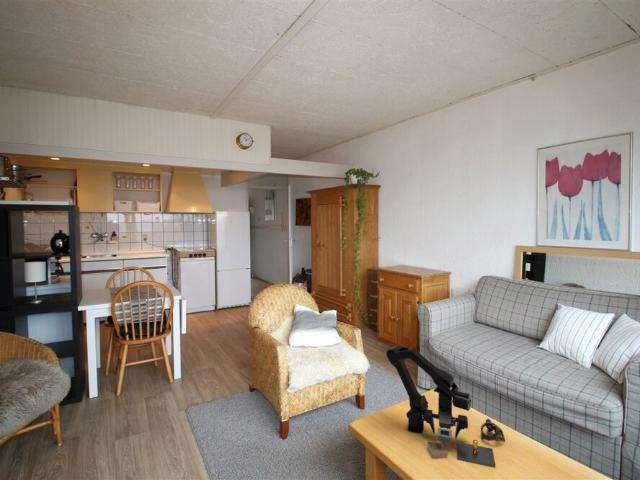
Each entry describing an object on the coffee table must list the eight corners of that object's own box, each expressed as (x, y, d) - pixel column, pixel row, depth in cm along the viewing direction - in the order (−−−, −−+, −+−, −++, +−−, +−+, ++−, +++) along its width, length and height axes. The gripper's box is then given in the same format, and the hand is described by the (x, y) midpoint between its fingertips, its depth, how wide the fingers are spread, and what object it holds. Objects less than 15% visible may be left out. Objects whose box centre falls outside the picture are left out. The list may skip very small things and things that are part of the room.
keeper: (457, 459, 145) (457, 445, 144) (456, 444, 154) (457, 430, 153) (495, 467, 140) (495, 452, 139) (492, 451, 149) (492, 437, 149)
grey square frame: (437, 441, 156) (437, 435, 155) (437, 433, 161) (437, 427, 161) (452, 444, 154) (452, 438, 153) (451, 436, 159) (451, 430, 159)
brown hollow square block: (432, 458, 145) (433, 451, 145) (427, 448, 151) (427, 442, 151) (447, 457, 146) (447, 450, 146) (440, 447, 152) (440, 441, 152)
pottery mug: (510, 446, 153) (503, 433, 150) (489, 453, 155) (482, 440, 152) (498, 424, 164) (492, 411, 162) (479, 430, 166) (472, 418, 164)
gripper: (422, 408, 152) (421, 443, 153) (469, 416, 145) (468, 452, 147) (423, 396, 162) (423, 428, 163) (467, 403, 156) (467, 436, 157)
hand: (444, 436), depth 157 cm, fingers open, 9 cm apart
